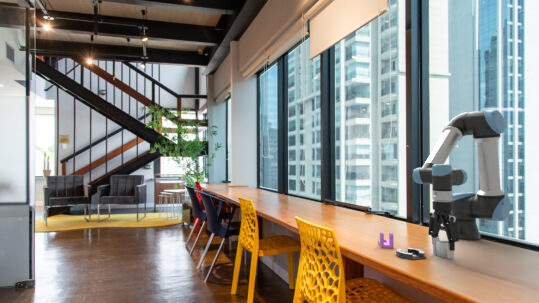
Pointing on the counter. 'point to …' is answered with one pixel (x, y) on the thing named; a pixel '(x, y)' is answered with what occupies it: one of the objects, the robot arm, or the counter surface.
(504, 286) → the counter surface
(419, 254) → the barrel ring
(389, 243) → the bracket
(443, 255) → the grey cylinder
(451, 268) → the counter surface
